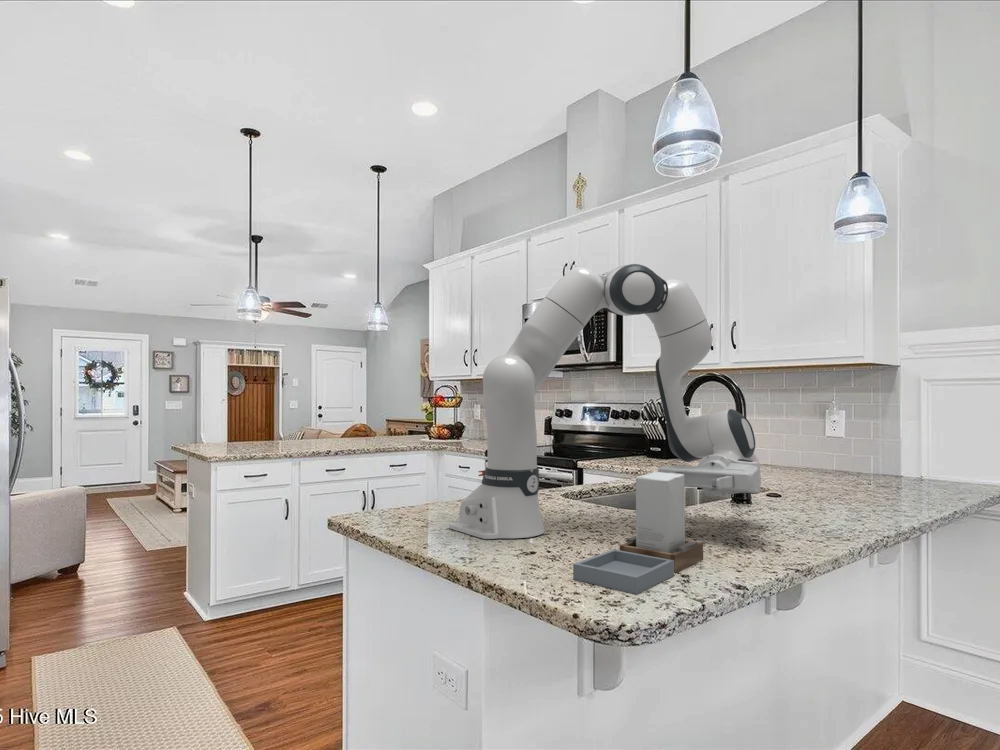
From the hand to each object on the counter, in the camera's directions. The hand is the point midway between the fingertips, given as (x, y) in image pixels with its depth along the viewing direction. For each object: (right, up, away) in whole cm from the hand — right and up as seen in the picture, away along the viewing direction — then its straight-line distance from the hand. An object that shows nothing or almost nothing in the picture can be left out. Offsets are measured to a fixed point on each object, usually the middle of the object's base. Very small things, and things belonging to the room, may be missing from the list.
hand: (691, 481), depth 119 cm
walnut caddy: (-9, -13, -10) cm, 18 cm away
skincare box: (-9, -13, -10) cm, 18 cm away
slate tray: (-18, -12, -20) cm, 29 cm away
